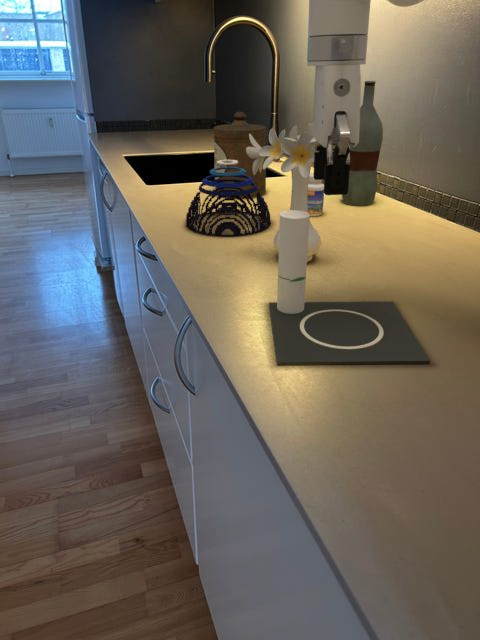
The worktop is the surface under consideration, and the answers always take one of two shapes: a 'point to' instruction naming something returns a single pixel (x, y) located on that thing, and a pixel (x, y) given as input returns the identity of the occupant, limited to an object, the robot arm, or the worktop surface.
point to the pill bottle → (315, 196)
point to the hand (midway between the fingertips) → (329, 186)
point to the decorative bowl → (228, 204)
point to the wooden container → (239, 151)
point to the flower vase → (298, 163)
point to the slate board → (344, 335)
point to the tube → (292, 261)
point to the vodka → (365, 153)
